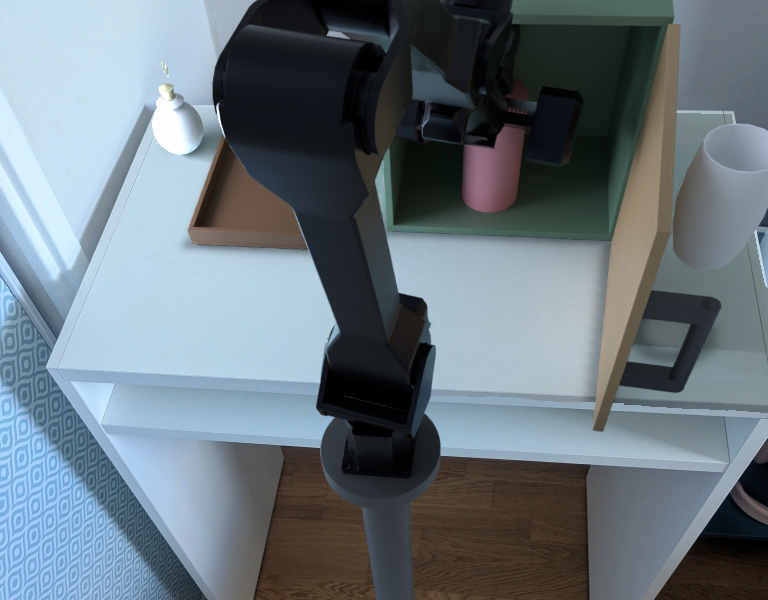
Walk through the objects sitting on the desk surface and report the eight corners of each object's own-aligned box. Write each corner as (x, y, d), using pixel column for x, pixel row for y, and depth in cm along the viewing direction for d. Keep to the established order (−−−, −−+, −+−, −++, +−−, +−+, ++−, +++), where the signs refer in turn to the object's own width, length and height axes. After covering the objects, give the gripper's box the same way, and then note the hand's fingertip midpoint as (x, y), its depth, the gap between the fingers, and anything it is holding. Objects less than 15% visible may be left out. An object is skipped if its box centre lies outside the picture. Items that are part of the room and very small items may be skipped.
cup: (640, 360, 76) (706, 180, 58) (628, 307, 79) (687, 121, 61) (714, 357, 76) (803, 175, 57) (698, 304, 79) (778, 116, 61)
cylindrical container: (516, 213, 86) (527, 114, 76) (459, 211, 87) (463, 112, 76) (518, 177, 89) (529, 76, 79) (463, 175, 90) (468, 74, 79)
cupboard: (615, 241, 84) (674, 16, 64) (386, 231, 87) (373, 12, 67) (611, 139, 93) (663, -88, 72) (404, 133, 96) (397, -87, 75)
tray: (338, 251, 86) (336, 236, 84) (191, 244, 88) (187, 230, 86) (364, 133, 96) (362, 118, 94) (232, 129, 98) (228, 115, 96)
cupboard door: (674, 250, 83) (753, 28, 63) (666, 441, 71) (761, 241, 51) (610, 244, 84) (668, 23, 64) (592, 430, 72) (656, 231, 52)
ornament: (160, 167, 95) (133, 89, 86) (162, 131, 99) (136, 52, 90) (208, 161, 95) (186, 83, 86) (209, 125, 99) (187, 46, 90)
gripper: (600, 2, 61) (601, 62, 75) (381, -26, 65) (422, 36, 79) (563, 151, 64) (570, 181, 79) (357, 116, 68) (400, 151, 83)
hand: (490, 134), depth 80 cm, fingers open, 9 cm apart
